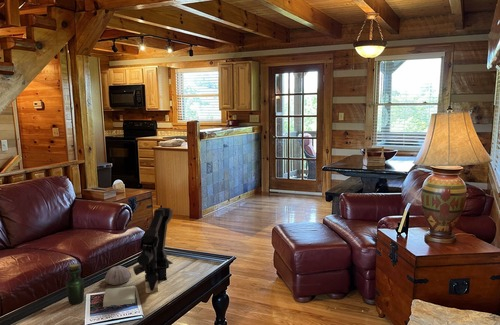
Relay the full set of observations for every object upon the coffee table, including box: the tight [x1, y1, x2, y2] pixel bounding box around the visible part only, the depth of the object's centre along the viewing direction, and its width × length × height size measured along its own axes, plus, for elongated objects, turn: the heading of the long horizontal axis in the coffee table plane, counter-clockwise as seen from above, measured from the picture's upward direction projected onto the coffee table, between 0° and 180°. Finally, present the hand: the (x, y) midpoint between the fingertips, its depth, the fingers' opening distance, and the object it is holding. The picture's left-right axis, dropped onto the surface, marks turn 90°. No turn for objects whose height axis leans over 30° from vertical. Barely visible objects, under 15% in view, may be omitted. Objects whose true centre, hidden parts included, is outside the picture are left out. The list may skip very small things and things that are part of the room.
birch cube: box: [144, 281, 159, 294], centre depth 198 cm, size 6×6×6 cm
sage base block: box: [102, 285, 136, 307], centre depth 187 cm, size 14×14×3 cm
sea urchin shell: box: [104, 265, 132, 286], centre depth 208 cm, size 13×14×8 cm
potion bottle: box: [65, 263, 85, 305], centre depth 185 cm, size 8×8×18 cm
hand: (151, 287), depth 198 cm, fingers open, 6 cm apart
